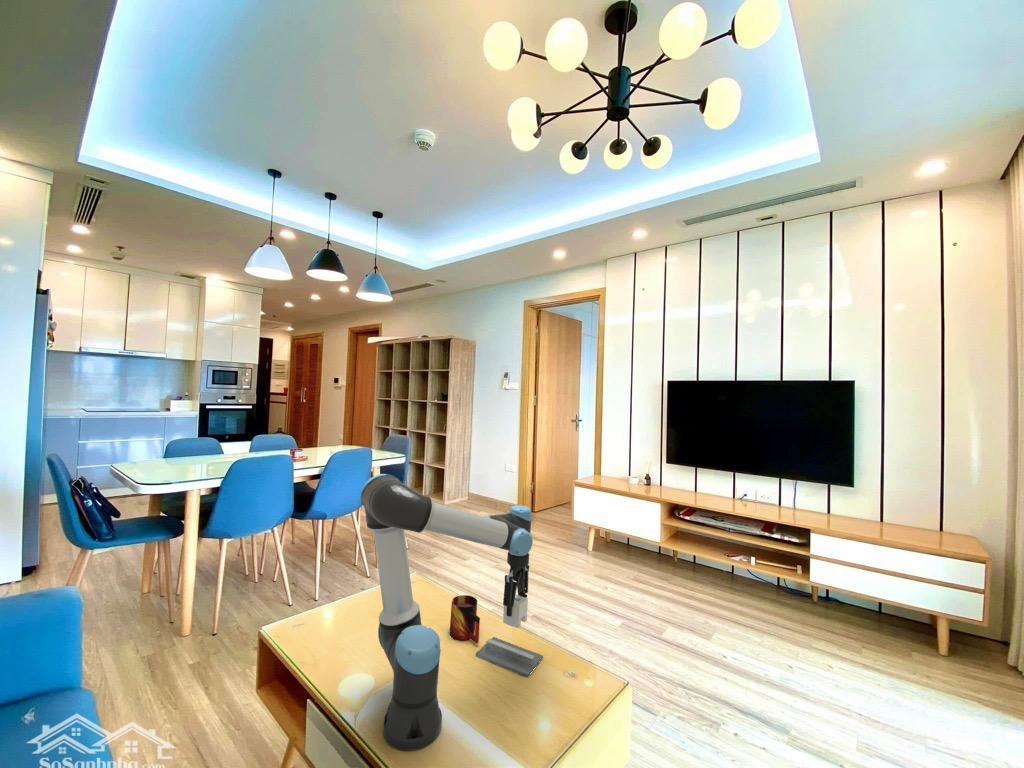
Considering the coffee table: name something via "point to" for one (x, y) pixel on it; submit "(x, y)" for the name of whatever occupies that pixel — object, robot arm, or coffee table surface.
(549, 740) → the coffee table surface
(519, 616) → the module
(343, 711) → the coffee table surface
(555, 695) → the coffee table surface
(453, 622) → the mug
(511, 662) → the rail plate
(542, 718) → the coffee table surface
